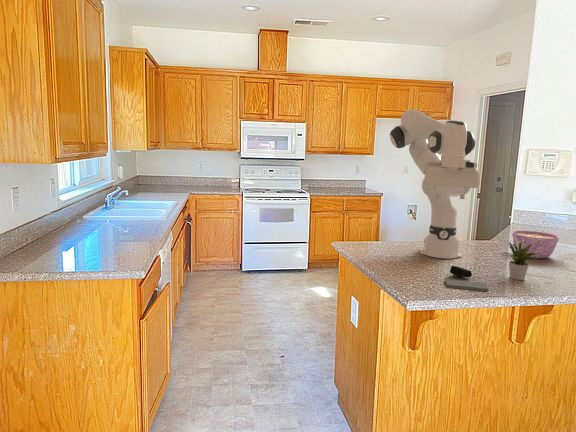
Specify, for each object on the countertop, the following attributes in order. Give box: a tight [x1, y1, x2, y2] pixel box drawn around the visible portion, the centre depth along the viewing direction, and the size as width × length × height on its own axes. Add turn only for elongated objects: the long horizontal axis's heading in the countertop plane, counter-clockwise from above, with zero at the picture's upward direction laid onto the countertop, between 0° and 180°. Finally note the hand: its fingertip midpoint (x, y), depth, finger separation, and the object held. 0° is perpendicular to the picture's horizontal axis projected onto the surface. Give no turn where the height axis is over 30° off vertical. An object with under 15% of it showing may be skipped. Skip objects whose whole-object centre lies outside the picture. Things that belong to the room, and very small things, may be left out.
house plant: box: [499, 239, 537, 281], centre depth 170 cm, size 14×14×16 cm
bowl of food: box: [511, 230, 560, 259], centre depth 208 cm, size 20×20×12 cm
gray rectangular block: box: [444, 278, 489, 292], centre depth 158 cm, size 8×14×1 cm, turn 75°
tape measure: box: [449, 265, 473, 278], centre depth 170 cm, size 7×7×4 cm
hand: (449, 198), depth 168 cm, fingers open, 8 cm apart
